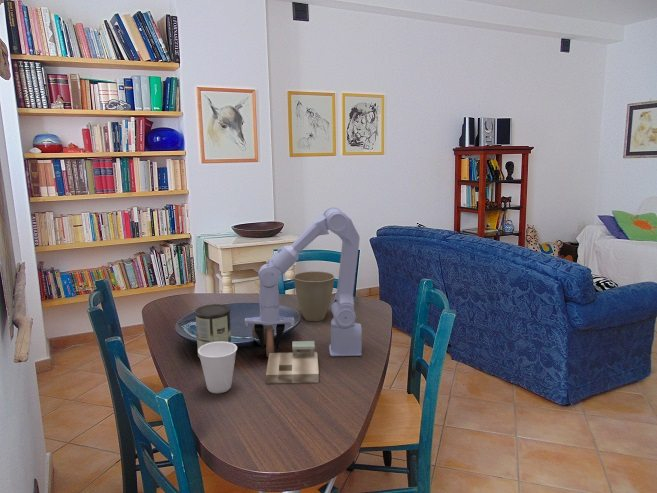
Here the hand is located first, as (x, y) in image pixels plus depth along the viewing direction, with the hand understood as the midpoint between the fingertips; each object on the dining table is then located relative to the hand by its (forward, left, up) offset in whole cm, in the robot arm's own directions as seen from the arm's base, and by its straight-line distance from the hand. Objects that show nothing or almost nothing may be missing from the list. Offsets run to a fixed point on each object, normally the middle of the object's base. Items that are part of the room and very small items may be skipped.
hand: (270, 347), depth 148 cm
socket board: (-7, +11, -2) cm, 13 cm away
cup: (+12, +20, -3) cm, 23 cm away
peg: (0, 0, -2) cm, 2 cm away
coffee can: (+17, -2, -3) cm, 17 cm away
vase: (+3, -10, -3) cm, 11 cm away
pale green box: (-10, +6, -2) cm, 12 cm away
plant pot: (-14, -32, -3) cm, 35 cm away
